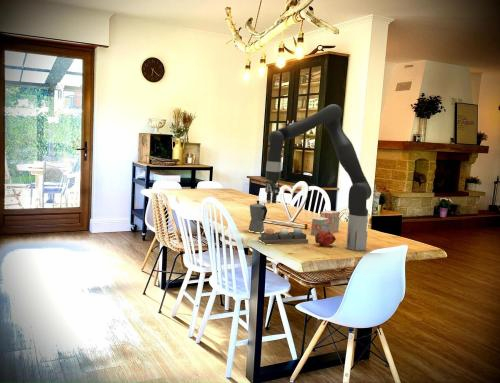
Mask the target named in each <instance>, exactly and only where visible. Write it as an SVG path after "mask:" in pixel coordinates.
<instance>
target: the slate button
mask: <svg viewBox="0 0 500 383" xmlns="http://www.w3.org/2000/svg"><path fill="white" fill-rule="evenodd" d="M292 232H293V233H294V234H302V233H303V229H302V228H297V227H296V228H293V231H292Z"/></svg>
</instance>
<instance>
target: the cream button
mask: <svg viewBox="0 0 500 383" xmlns="http://www.w3.org/2000/svg"><path fill="white" fill-rule="evenodd" d="M279 232H280V234H281V235H287V234H288V233H289V229H288V228H280V229H279Z"/></svg>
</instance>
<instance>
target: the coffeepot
mask: <svg viewBox="0 0 500 383" xmlns="http://www.w3.org/2000/svg"><path fill="white" fill-rule="evenodd" d="M267 213H268V208H267V206H266V205H264V204H261V203H260V200H258V199H257V200H256V203H253V204H249V214H250V221H249V226H248V230H250V231H254V232H263V231H264V232H265V225H264V222H265V220H266V217H267Z"/></svg>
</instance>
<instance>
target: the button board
mask: <svg viewBox="0 0 500 383" xmlns="http://www.w3.org/2000/svg"><path fill="white" fill-rule="evenodd" d="M293 232H294V231H288V234H287V235H281V234H280V231H277V232H276V231H274V235H266V234H265V231H264V233H260V236H258V240H261V241H262V242H264V243H265V244H280V245H306V244H309V239H307V234H306V233H304V232H302V234H294V233H293ZM262 242H261V243H262ZM264 243H263V244H264ZM265 244H264V245H265Z"/></svg>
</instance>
